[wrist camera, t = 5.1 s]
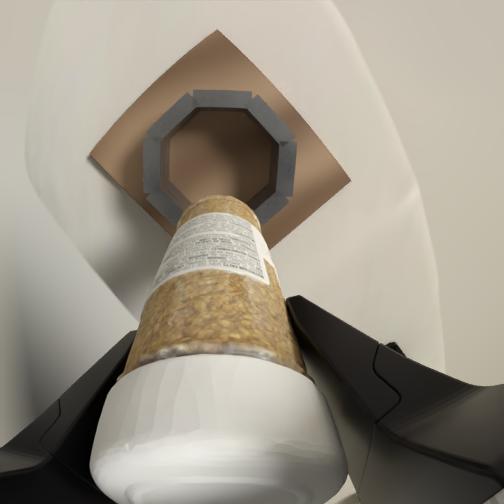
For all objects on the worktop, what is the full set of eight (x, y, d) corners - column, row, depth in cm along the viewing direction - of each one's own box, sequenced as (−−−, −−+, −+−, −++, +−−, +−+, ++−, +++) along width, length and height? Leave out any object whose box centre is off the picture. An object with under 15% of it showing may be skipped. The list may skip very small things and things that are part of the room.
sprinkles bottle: (252, 277, 17) (302, 528, 5) (171, 266, 16) (111, 518, 4) (269, 199, 15) (408, 441, 3) (181, 185, 15) (45, 424, 2)
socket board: (348, 179, 20) (351, 180, 20) (225, 282, 23) (225, 286, 22) (217, 32, 16) (217, 29, 15) (92, 152, 18) (89, 153, 18)
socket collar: (310, 166, 19) (324, 172, 17) (216, 247, 21) (216, 266, 18) (224, 70, 16) (224, 60, 14) (129, 161, 18) (114, 166, 15)
